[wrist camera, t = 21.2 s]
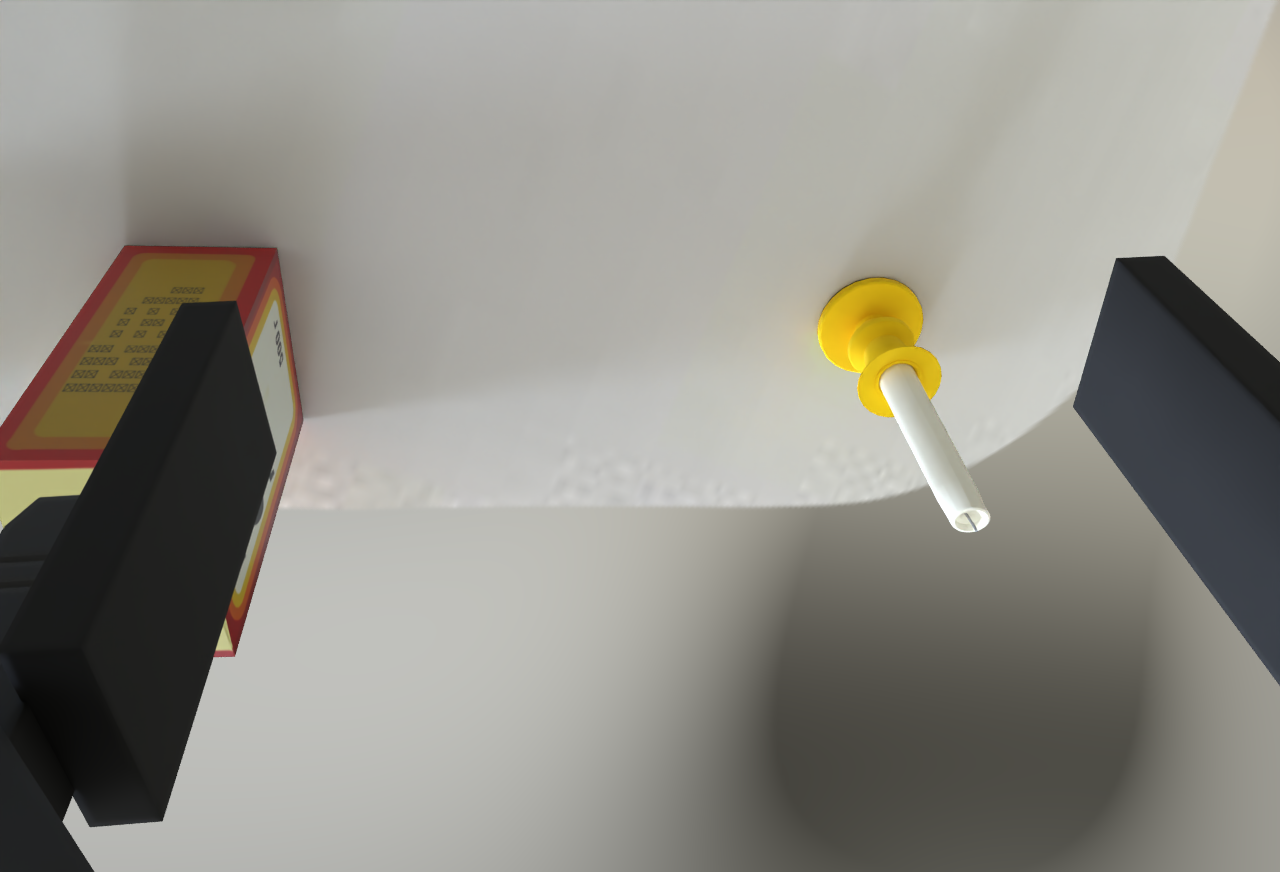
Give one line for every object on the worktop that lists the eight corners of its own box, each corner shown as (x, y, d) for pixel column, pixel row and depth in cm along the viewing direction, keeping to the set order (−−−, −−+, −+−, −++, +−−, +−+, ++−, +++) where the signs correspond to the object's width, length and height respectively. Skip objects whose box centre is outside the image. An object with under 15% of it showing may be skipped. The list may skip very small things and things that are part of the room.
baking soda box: (124, 245, 46) (-28, 467, 34) (277, 248, 47) (184, 466, 34) (167, 420, 52) (51, 668, 39) (303, 420, 53) (232, 664, 40)
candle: (868, 384, 55) (971, 598, 42) (795, 335, 52) (881, 546, 40) (942, 311, 52) (1073, 515, 40) (868, 257, 50) (983, 455, 38)
